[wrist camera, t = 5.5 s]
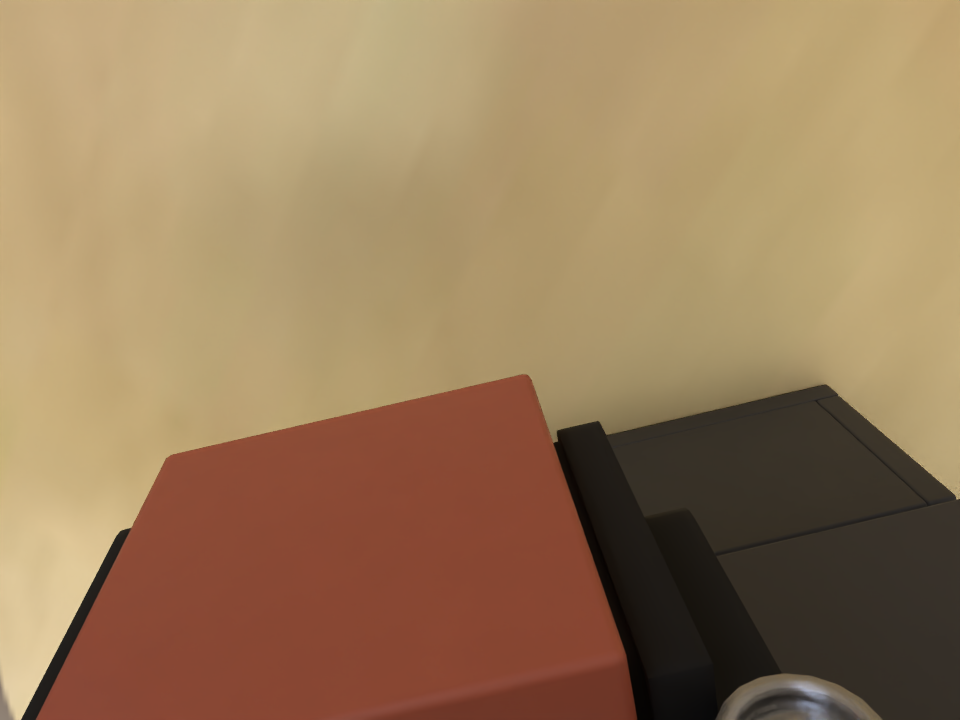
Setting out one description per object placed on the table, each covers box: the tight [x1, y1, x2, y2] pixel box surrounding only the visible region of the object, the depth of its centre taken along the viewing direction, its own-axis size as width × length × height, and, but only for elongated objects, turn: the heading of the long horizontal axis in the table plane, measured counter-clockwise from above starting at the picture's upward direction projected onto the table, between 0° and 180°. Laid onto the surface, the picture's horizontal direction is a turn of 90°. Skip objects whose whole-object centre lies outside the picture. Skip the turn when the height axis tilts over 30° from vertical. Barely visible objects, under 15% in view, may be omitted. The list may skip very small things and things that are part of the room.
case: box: [607, 385, 956, 556], centre depth 27 cm, size 16×13×7 cm
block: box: [36, 374, 637, 720], centre depth 8 cm, size 4×4×4 cm
